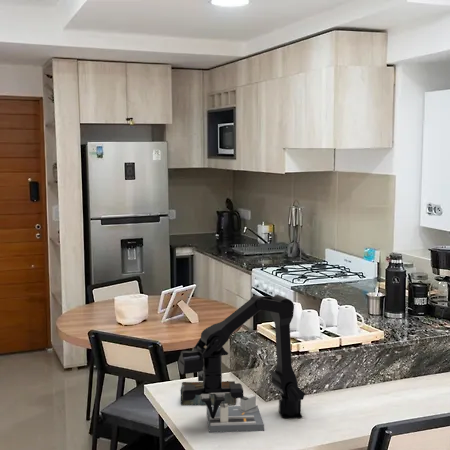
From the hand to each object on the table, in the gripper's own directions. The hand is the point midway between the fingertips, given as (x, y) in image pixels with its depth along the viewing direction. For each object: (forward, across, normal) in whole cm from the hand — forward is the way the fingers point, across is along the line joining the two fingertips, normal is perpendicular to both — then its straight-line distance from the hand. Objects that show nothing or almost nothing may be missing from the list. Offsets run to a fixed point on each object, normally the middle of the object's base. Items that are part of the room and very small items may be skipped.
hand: (212, 417), depth 195 cm
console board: (+3, -7, -4) cm, 9 cm away
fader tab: (+1, -4, 0) cm, 4 cm away
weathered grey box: (+4, 0, -22) cm, 22 cm away
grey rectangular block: (+1, -12, -9) cm, 15 cm away
